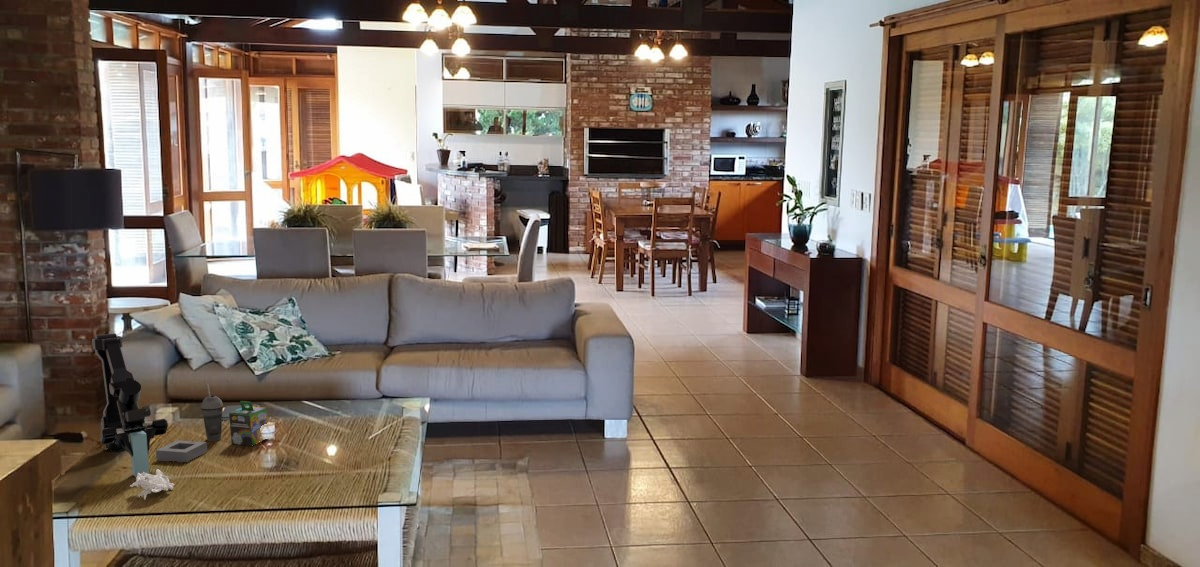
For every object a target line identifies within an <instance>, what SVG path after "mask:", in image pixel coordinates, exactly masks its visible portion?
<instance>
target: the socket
mask: <svg viewBox="0 0 1200 567" xmlns="http://www.w3.org/2000/svg"><path fill="white" fill-rule="evenodd" d="M207 442H208V441H193V440H179V439H178V440H175V441H173V442H171V443H168V444H166V445H165V446H162V447H160V448H158V449H156V450H155V455H156V456H155V457H156V461H157V462H158V461H159V462H169V461H173V462H174V461H177V462H176V463H183V462H187V463H189V462H191V461H193V460H195V459H197V458H199V457H201V456H203V455H205V454H207V453H208V443H207ZM198 456H199V457H198ZM196 457H197V458H196ZM194 458H195V459H194ZM192 459H193V460H192ZM190 460H191V461H190ZM188 461H189V462H188ZM173 462H172V463H173ZM174 463H175V462H174Z"/></svg>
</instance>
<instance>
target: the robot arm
mask: <svg viewBox="0 0 1200 567" xmlns="http://www.w3.org/2000/svg"><path fill="white" fill-rule="evenodd" d="M91 346H92V350H94V352H95V355H96V356H97V357H98V359H99V360H100V361H101V365H102V366H101V367H102V373H103V374H102V375H103V382H104V389H105V398H106V399H105V400H106V405H105V406H104V409H103V411H102V416H101V419H100V420H101V421H100V437H99V438H100V439H99V440H100V444H101V445H103V446H104V445H105V448H108V449H107V450H112V451H111V452H121V451H123V450H125V451H126V452H127V453H128V455H130V457H131V456H132V457H133V450H132V447H131V445H130V436H129V433H134V432H140V431H144V432H145V433H146V436H147V450H148V454H149V452H150V445H151V444H150V443H151V440H152V439H154V438H155V437H156V436H162V435H166V433H167V431H168V430H167V429H168V427H169V423H168V420H167V419H165V418H160V419H159V418H158V419H153V420H152V422H151V424H148V425H144V424H145V423H146V420H145V419H146V417H151V415H152V412H151V407H150V405H143V406H142V408H140V406H139V404H138V401H139V400H140V395H141V390H142V384H140V382H138V380H136V379H135V378H134V375H133V373H132V372H131V371H129V370H127V367H126V363H125V360H124V355H123V352H122V348H123V337H122V336H121V335H117V333H114V332H112V333H105V334H96V335H95V338H92V339H91ZM105 450H106V449H105Z"/></svg>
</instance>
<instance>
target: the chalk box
mask: <svg viewBox="0 0 1200 567" xmlns="http://www.w3.org/2000/svg"><path fill="white" fill-rule="evenodd" d="M239 403H240V404H239V405H241V407H242V408H239V409H237V410H235V411H232V412H230V413H229V417H230V421H229V427H230V441H231V445H239V446H245V445H246V446H245V447H253V446H252V445H254V446H256V445H257V444H256V443H258V442H259V441H260V428H261V426H262V425H264V424H267V423H268V419H269V418H268V410H267V409H268V408H267V407H265V406H262V407H261V406H260V407H253V406H252V404H253V403H252V401H247V400H240V402H239ZM244 405H249V406H246V407H245V406H244ZM268 424H269V423H268ZM255 444H256V445H255ZM258 444H259V443H258Z"/></svg>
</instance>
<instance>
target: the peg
mask: <svg viewBox="0 0 1200 567" xmlns="http://www.w3.org/2000/svg"><path fill="white" fill-rule="evenodd" d="M129 442H130V445H131V447H132V450H133V457H132V456H131V455H130V462H131V474H132V475H133V476H134V477H135V478H136V477H137V474H138V473H140V474H142V473H143V472H145V473H147V474H150V467H149V453H148V450H147V436H146V433H145V432H144V431H140V432H134V433H129Z"/></svg>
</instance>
